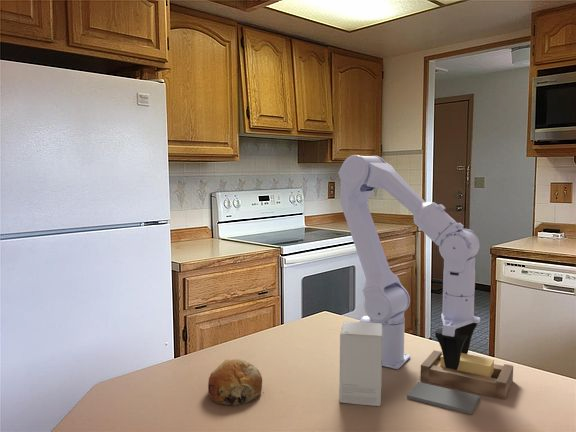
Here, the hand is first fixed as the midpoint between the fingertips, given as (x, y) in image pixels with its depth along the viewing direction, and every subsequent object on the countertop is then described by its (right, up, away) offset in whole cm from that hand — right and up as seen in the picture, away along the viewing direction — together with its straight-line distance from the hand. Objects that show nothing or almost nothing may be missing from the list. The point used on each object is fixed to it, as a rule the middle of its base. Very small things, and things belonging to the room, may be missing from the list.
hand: (456, 361), depth 95 cm
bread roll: (-43, -5, -6) cm, 43 cm away
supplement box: (-20, -4, -7) cm, 21 cm away
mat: (-5, -4, -8) cm, 11 cm away
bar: (+2, -1, -1) cm, 2 cm away
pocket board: (+2, -4, -1) cm, 4 cm away
